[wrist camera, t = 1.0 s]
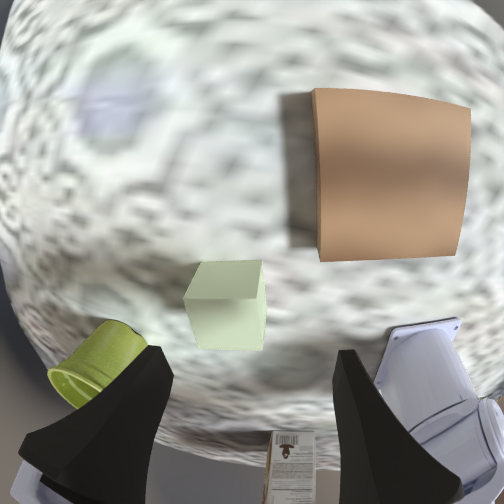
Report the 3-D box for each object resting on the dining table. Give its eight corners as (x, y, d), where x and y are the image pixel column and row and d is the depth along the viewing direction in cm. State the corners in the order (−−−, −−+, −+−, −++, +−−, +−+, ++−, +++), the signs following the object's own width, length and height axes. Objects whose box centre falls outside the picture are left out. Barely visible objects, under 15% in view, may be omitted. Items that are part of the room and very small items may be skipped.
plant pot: (76, 301, 23) (31, 358, 16) (150, 310, 22) (108, 387, 15) (107, 360, 28) (77, 414, 20) (174, 374, 27) (151, 440, 19)
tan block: (439, 239, 17) (455, 255, 15) (316, 243, 18) (320, 262, 16) (449, 107, 12) (470, 108, 10) (310, 92, 14) (315, 88, 11)
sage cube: (266, 308, 21) (262, 350, 17) (212, 308, 21) (198, 348, 18) (262, 259, 19) (256, 298, 15) (201, 261, 19) (182, 298, 16)
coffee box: (305, 449, 35) (301, 531, 21) (267, 448, 36) (258, 531, 22) (316, 430, 31) (314, 530, 17) (270, 429, 31) (260, 531, 17)
